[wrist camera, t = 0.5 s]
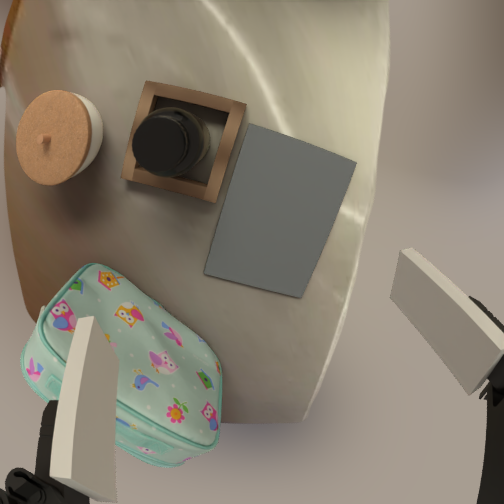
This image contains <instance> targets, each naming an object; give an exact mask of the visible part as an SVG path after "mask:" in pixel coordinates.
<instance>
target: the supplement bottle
mask: <svg viewBox="0 0 504 504" xmlns="http://www.w3.org/2000/svg"><path fill="white" fill-rule="evenodd" d="M209 144H210V134H209V130H208V128H207V126H206V124H205V123H204V122H203V120H202V119H200V118H199V117H198V116H196V115H194V114H192V113H190V112H188V111H185V110H183V109H180V108H174V107H167V108H161V109H158V110H156V111H154V112H152V113H150V114H149V115H148V116H146V117H145V118H144V119H143V120H142V122H141V123H140V124H139V126H138V128H137V129H136V132H135V133H134V134H133V139H132V152H133V156H134V157H135V159H136V161H137V162H138V163H139V165H141V166H142V167H143V168H144V169H145V170H146V171H148V172H149V173H151V174H153V175H155V176H158V177H164V178H171V177H176V176H179V175H182V174H184V173H186V172H187V171H189V170H190V169H191V168H193V167H194V166H195V165H196V164H197V163H198V162H199V161H201V159H202V158H203V157H204V156H205V154H206V153H207V151H208V148H209Z"/></svg>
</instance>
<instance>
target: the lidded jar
mask: <svg viewBox="0 0 504 504" xmlns="http://www.w3.org/2000/svg"><path fill="white" fill-rule="evenodd" d="M102 139H103V123H102V119H101V116H100V114H99V112H98V110H97V108H96V107H95V106H94V104H92V103H91V102H90V101H89V100H88V99H86V98H84V97H82V96H80V95H77V94H74V93H70V92H67V91H62V90H53V91H49V92H46V93H44V94H42V95H40V96H38V97H37V98H36V99H35V100H34V101H33V102H32V103H31V104H30V105H29V106H28V108H27V109H26V110H25V112H24V114H23V116H22V118H21V120H20V123H19V126H18V130H17V136H16V149H17V155H18V159H19V162H20V164H21V166H22V168H23V170H24V171H25V173H26V174H27V175H28V176H29V177H30V178H31V179H32V180H34V181H35V182H37V183H39V184H42V185H48V186H52V185H57V184H60V183H62V182H65V181H66V180H68V179H70V178H72V177H74V176H75V175H77V174H79V173H80V172H82V171H83V170H84V169H85V168H87V167H88V166H89V164H90V163H91V162H92V161H93V160H94V158H95V157H96V155H97V153H98V151H99V149H100V146H101V144H102Z"/></svg>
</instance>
